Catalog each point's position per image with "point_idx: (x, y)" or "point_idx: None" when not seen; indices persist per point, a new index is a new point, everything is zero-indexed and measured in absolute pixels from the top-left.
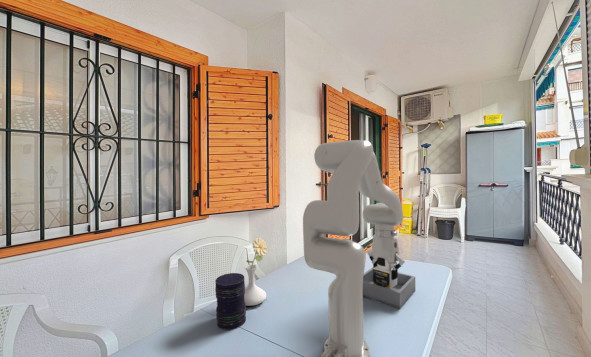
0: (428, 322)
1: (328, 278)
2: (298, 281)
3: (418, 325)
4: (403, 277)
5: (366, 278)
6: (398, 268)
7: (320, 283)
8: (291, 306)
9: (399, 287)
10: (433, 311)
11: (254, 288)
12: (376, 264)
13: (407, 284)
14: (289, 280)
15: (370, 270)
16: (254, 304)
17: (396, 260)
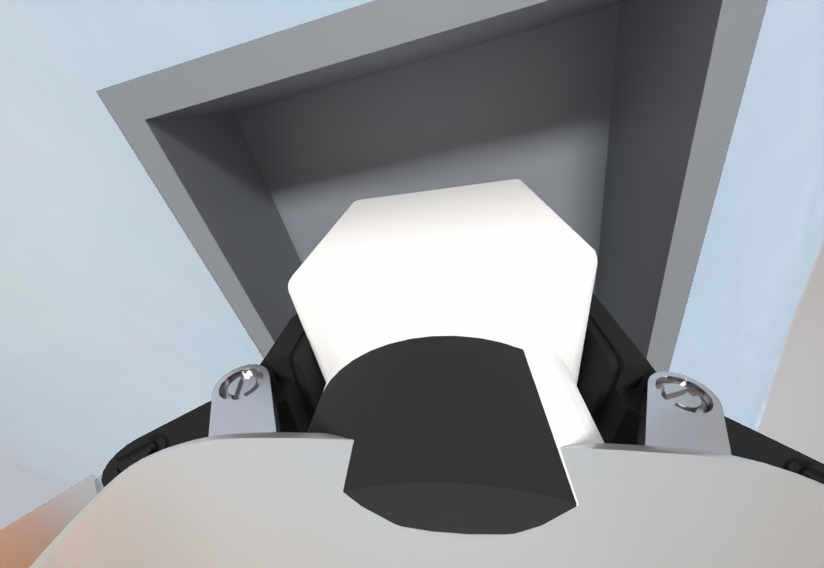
0: (766, 342)
1: (104, 334)
2: (110, 432)
3: (714, 385)
4: (554, 5)
5: (287, 307)
6: (692, 388)
7: (159, 392)
8: None
9: (501, 103)
10: (811, 224)
11: None
12: (315, 407)
13: (694, 264)
14: (90, 446)
15: (212, 244)
16: None
17: (741, 472)
